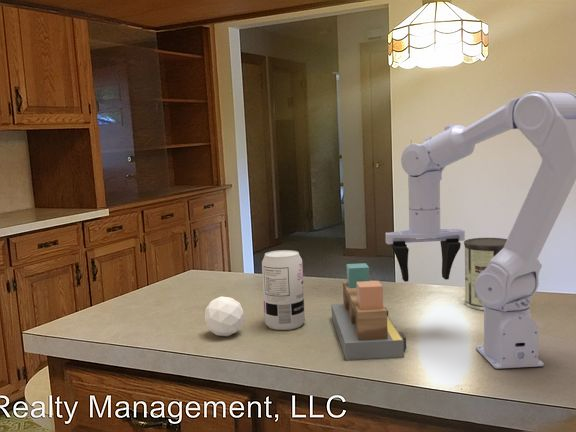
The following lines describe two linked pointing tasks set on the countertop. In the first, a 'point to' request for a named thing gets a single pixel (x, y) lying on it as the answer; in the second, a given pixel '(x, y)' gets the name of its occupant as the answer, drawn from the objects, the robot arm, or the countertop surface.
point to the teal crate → (357, 274)
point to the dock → (366, 348)
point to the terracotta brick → (369, 295)
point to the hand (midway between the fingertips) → (425, 279)
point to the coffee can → (478, 264)
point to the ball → (224, 316)
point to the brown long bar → (365, 317)
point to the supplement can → (283, 290)
